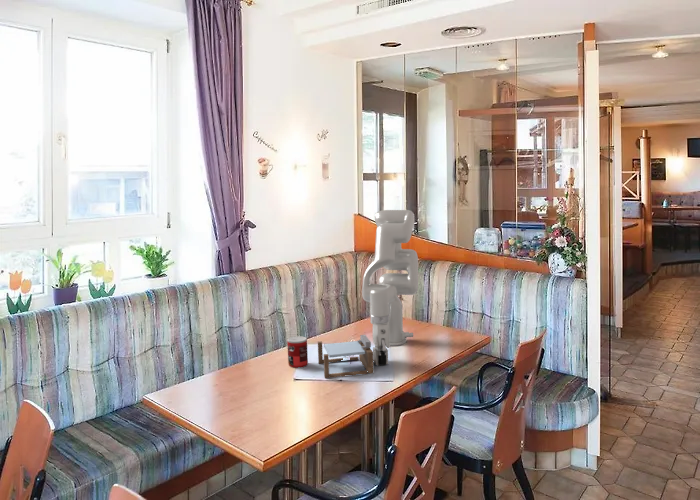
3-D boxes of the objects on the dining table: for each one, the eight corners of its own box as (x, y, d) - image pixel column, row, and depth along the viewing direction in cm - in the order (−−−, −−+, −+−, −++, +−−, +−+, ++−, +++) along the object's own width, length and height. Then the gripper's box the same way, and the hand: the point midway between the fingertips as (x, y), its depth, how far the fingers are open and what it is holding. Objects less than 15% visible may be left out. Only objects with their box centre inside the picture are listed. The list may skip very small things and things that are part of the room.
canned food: (288, 362, 241) (287, 336, 239) (307, 361, 242) (306, 335, 240) (288, 368, 233) (286, 342, 232) (308, 367, 234) (307, 341, 232)
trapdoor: (364, 342, 239) (364, 333, 239) (372, 353, 226) (371, 343, 225) (324, 346, 236) (323, 337, 236) (329, 357, 223) (329, 347, 222)
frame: (363, 358, 243) (363, 337, 241) (373, 373, 225) (373, 351, 224) (318, 362, 239) (317, 341, 238) (325, 378, 221) (324, 355, 220)
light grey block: (385, 360, 240) (384, 346, 239) (388, 364, 235) (387, 350, 234) (373, 361, 239) (372, 347, 238) (376, 365, 234) (375, 351, 233)
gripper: (394, 323, 226) (395, 368, 229) (383, 313, 243) (384, 354, 246) (375, 325, 225) (376, 370, 228) (366, 314, 242) (367, 356, 244)
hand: (380, 361), depth 237 cm, fingers closed on light grey block, 5 cm apart
